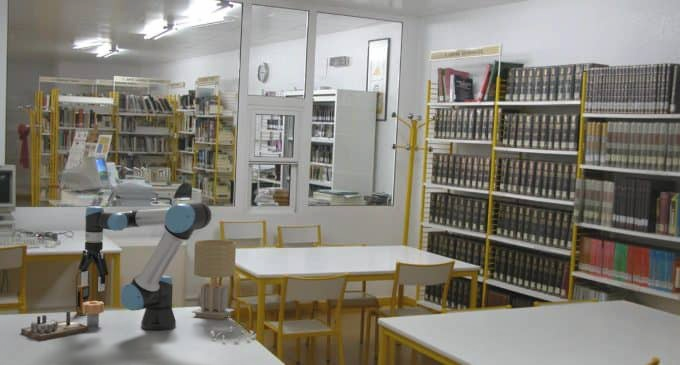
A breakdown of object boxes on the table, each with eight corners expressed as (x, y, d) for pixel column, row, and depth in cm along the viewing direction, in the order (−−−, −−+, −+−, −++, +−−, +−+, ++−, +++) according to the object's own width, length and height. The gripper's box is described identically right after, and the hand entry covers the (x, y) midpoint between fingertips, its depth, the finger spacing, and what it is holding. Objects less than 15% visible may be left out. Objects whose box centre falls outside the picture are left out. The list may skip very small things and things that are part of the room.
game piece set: (201, 341, 316) (201, 332, 316) (224, 330, 335) (225, 322, 335) (242, 347, 310) (243, 338, 310) (264, 336, 328) (264, 327, 328)
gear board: (88, 331, 325) (88, 313, 325) (40, 340, 308) (40, 321, 308) (68, 324, 336) (69, 306, 335) (21, 333, 319) (21, 314, 318)
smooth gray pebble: (100, 325, 336) (101, 312, 336) (90, 327, 332) (91, 313, 332) (94, 323, 339) (94, 310, 339) (84, 325, 335) (84, 311, 335)
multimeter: (91, 317, 351) (92, 274, 350) (72, 315, 353) (72, 273, 352) (107, 310, 365) (107, 269, 364) (88, 308, 367) (89, 268, 366)
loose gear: (107, 312, 336) (107, 303, 336) (89, 315, 329) (89, 306, 329) (96, 308, 342) (96, 300, 341) (78, 311, 335) (78, 302, 335)
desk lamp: (241, 313, 368) (242, 241, 366) (222, 321, 350) (223, 246, 348) (205, 309, 374) (207, 238, 372) (185, 317, 356) (186, 243, 354)
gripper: (71, 238, 339) (70, 284, 340) (102, 245, 323) (101, 294, 324) (86, 237, 345) (85, 282, 346) (117, 243, 329) (116, 291, 330)
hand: (92, 288), depth 335 cm, fingers open, 13 cm apart
